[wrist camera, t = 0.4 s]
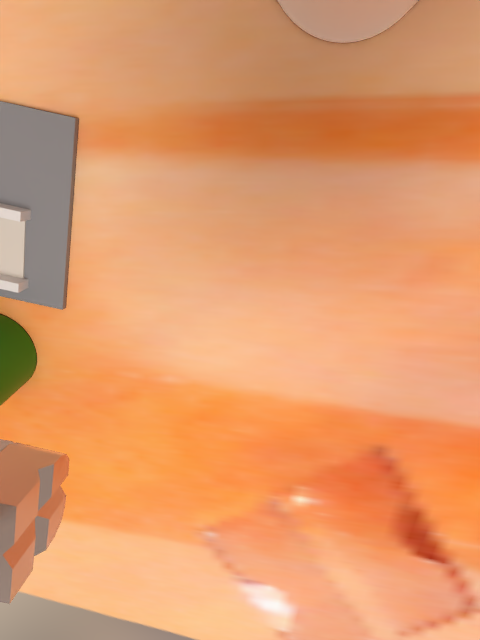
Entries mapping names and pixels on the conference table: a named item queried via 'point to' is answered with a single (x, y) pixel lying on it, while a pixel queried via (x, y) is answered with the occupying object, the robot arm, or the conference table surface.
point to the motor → (14, 357)
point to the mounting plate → (36, 203)
